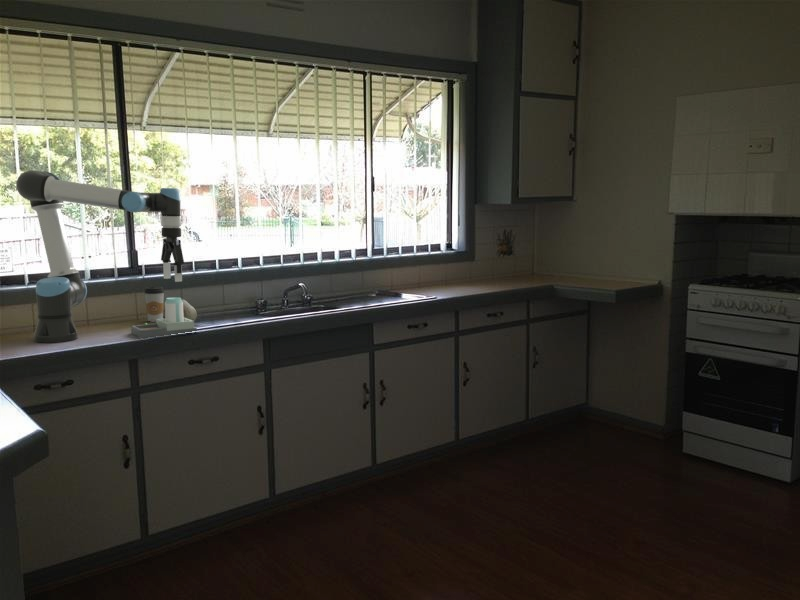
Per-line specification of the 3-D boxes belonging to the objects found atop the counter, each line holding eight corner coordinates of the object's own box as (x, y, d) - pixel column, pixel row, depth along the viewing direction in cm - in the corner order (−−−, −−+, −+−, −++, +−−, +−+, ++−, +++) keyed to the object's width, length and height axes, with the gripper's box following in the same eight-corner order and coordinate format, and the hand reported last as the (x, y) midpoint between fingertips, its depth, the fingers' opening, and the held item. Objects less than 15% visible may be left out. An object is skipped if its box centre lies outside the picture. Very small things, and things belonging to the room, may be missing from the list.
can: (163, 326, 288) (162, 297, 286) (180, 325, 292) (179, 296, 290) (169, 329, 282) (167, 299, 281) (186, 327, 286) (185, 298, 285)
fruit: (179, 323, 310) (178, 296, 308) (200, 323, 309) (199, 296, 308) (170, 327, 300) (169, 299, 298) (192, 327, 299) (191, 299, 298)
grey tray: (141, 338, 273) (141, 326, 272) (131, 333, 284) (130, 321, 283) (197, 333, 286) (196, 320, 285) (184, 328, 297) (184, 316, 296)
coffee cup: (144, 322, 311) (142, 288, 309) (147, 319, 319) (145, 286, 317) (164, 322, 312) (162, 288, 310) (166, 319, 320) (165, 286, 318)
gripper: (191, 228, 274) (192, 282, 277) (170, 226, 294) (171, 276, 297) (172, 228, 270) (173, 283, 272) (152, 226, 290) (153, 277, 292)
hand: (172, 280), depth 285 cm, fingers open, 13 cm apart
